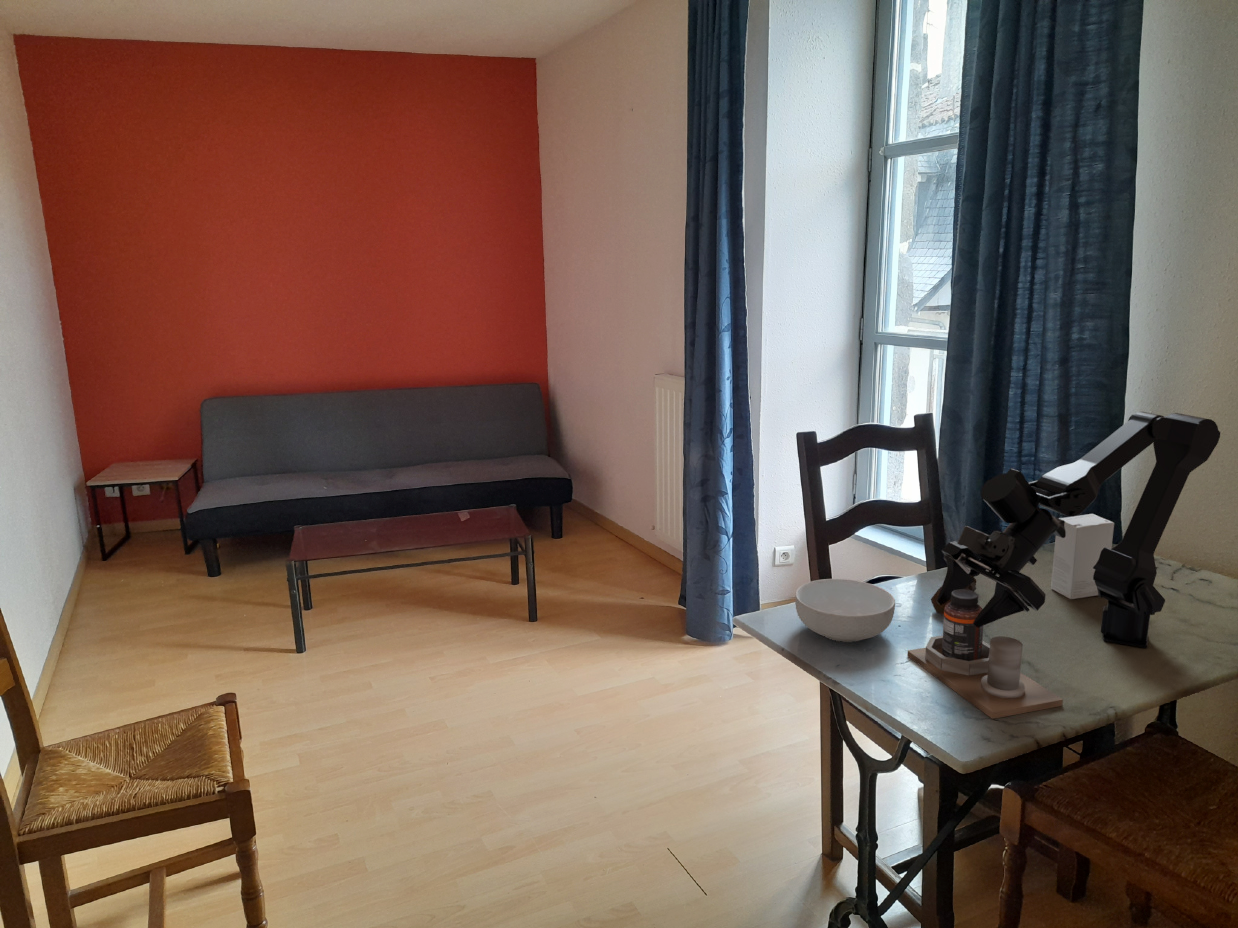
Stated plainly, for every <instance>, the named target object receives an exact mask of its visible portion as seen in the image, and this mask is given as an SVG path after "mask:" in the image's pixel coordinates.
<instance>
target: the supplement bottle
mask: <svg viewBox="0 0 1238 928" xmlns="http://www.w3.org/2000/svg"><path fill="white" fill-rule="evenodd" d="M978 603H979V594H978V593H977V592H976V591H971V590H965V589H958V590H954V591H952V593H951V602H950V603H948V604H947V605H946V606H945V609H944V615H943V623H942V624H943V626H942V635H943V644H942V655H943V656H945V657H949V658H955V659H960V660H965V661H973V660H979V659H981V656H982V640H983V638H984V626H981V627H979V628H978V627H976V626H975V625H974V624H973V622H974V620H975V619H976V617H977V616H978V614H979V613H980V612H981V611H982V609H983V607H982V606H980V605H979V604H978ZM983 641H984V640H983Z"/></svg>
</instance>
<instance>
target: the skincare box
mask: <svg viewBox="0 0 1238 928" xmlns="http://www.w3.org/2000/svg"><path fill="white" fill-rule="evenodd" d="M1059 519H1061V520H1064V521H1065V524H1064V527H1065V531H1066V536H1065V538H1061V537H1059V536H1056V535H1055V539H1054V541H1055V542H1054V550H1053V560H1052V561H1053V562H1052V571H1051V580H1050V582H1051V583H1050V588H1051V590H1053V591H1055V592H1057V593H1059V594H1060V595H1062V596H1064V597H1066V598H1068V599H1069V600H1075V599H1082V598H1088V597H1094V596H1099V595H1098V590H1097V586H1096V584H1095V580H1093V575H1094V572H1095V569H1093V567H1094V566H1095V565H1096V563H1097V561H1098V560H1099V557H1100V553H1101V551H1102V550H1103V548H1105V547H1106V548H1109V549H1112V548H1113V547H1112V546H1113V536H1114V528H1115V522H1113V521H1111V520H1109V519H1106V518H1104V517H1101V516H1099V515H1096V514H1094V513H1089V514H1080V515H1077V516H1074V517H1073V516H1066V517H1059Z"/></svg>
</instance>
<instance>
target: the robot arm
mask: <svg viewBox="0 0 1238 928" xmlns="http://www.w3.org/2000/svg"><path fill="white" fill-rule="evenodd" d="M1220 437H1221V431H1220V430H1219V426H1218V424H1217V423H1216V421H1214V420H1213V419H1211V418H1204V417H1199V416H1195V415H1189V414H1185V413H1180V412H1172V413H1170V414H1168V415H1167V416H1166V415H1165V416H1164V415H1160V414H1157V413H1150V412H1147V411H1139V412H1134V413H1132V414H1131V415H1130V417H1128V420H1127V422H1125V423H1124V424H1122V426H1120V427H1119V428H1118V429H1116V430H1115V431H1113V433H1111V434H1110V435H1109V436H1108V437H1106V438H1105V439H1104V440H1102V441H1101V442H1100V443H1099V444H1098V445H1096V446H1095V447H1094V448H1092V449H1091V450H1089V451H1088V452H1087V453H1086V454H1085V455H1084V456H1082V457H1081V458H1080V459H1078V460H1076V461H1075V462H1072V463H1068V464H1064V465H1061V466H1057V467H1056V468H1054V469H1051V470H1050V471H1048V472H1046V473H1045V474H1043V475H1042V476H1041V477H1039V478H1038V479H1037V480H1034V481H1029V482H1028V481H1027V479H1026V476H1025V475H1024V474H1023V473H1022V472H1021V471H1020V470H1017V469H1014V468H1010V469H1008V471H1007V472H1005V473H1001V474H998V475H996V476H994V477H992V478H991V479H988V480H987V481H985V482H984V484H983V486H982V488H981V490H980V491H981V492H980V497H981V498H982V499H983V501H984V503H986V504H987V505H988V507H990V508H991V510H992V511H993V512H994V513H995V514H996V515H997V516H998V517H999V518H1000V519H1001V521H1002V522H1004V523H1007V524H1008V526H1007V527H1006V528H1005V529H1004V530H1003V531H1001V530H999V529H996V530H994V531H992V533H991V534H990V535H989V534H987V533H985V532H983V531H980V530H978V529H976V528H972V527H970V526H968V525H965V526H964V527H963V530H962V532H961V534H960V536H959V539H958V540H957V541H949V542H948V543H946V544H945V546H944V548H942V550H941V552H942V553H943V559H944V561H945V562H946V573H945V577H944V580H943V583H942V585H941V586H942V588H941V590H940V593H939V595H938V598H937V603H938V604H940V605H943V604H944V603H946V602H948V601H949V600H950V599H951V593H952V591H954V590H958V589H965V588H966V587H968V586H969V585H970V584H972V583H973V582H974V580H973V579H972V578H971V577H974V578H975V577H977V576H980V575H982V576H984V577H985V578H988V579H990V580H992V581H993V582H996V583H995V587H994V594H993V596H992V597H991V598H990V600H989V601H988V602H987V603H986V604H985V606H984V607H982V611H981V612H980V613H979V614H978V616H977V617H976V619H975V620H974V622H973V624H974V625H975V626H976V627H978V628H979V627H981V626H983V627H984V626H985V625H988V624H990V623H992V622H993V623H994V622H996V621H998V620H1000V619H1004V618H1006V617H1010V616H1012V615H1014V614H1015V615H1016V614H1017V613H1022V612H1026V613H1028V612H1030V609H1032V610H1034V611H1035V612H1039V610H1040V609H1041V607H1042V606H1043V605H1044V604H1045V603H1046V595H1047V594H1046V593H1045V592H1044V591H1043V590H1042V589H1041V587H1039V585H1038V584H1037V583H1036V582H1035V581H1034V580H1033V579H1032V578H1031V577H1030V576H1028V575H1026V574H1024V573H1022V572H1021V571H1022V570H1023V569H1024V567H1026V565H1027V564H1029V565H1032V566H1034V565H1035V564H1036V563H1037V562H1038V559H1037V558H1036V557H1035V555H1036V553H1038V552H1039V550H1041V548H1042V547H1043V546H1044V545H1045V544H1046V543H1047V541H1049V539H1050V538H1051V537H1052V535H1054V536H1055V537H1056V536H1059V537H1061V538H1065V536H1066V531H1065V527H1064V524H1065V521H1064V520H1061V519H1059V518H1060V517H1059V518H1058V517H1055V516H1054V515H1053V514H1052V513H1051V512H1050V511H1052V512H1055V513H1058V514H1061V515H1064V516H1066V517H1074V516H1080V515H1082V514H1083V512H1085V511H1086V509H1087V508H1088V507H1089V506H1090V505H1091V504H1092V503H1093V502H1094V501H1095V500H1096V498H1097V497H1098V495H1099V491H1100V488H1101V486H1102V484H1103V483H1105V482H1106V481H1107V480H1108V479H1110V478H1111V477H1112V476H1113V475H1114V474H1116V473H1117V472H1118V471H1119V470H1121V469H1123V468H1124V466H1126V465H1127V464H1128V463H1129V462H1131V461H1132V460H1133V459H1134V458H1136V457H1137V456H1138V455H1140V454H1141V453H1142V452H1144V451H1145V450H1146V449H1147V448H1148V447H1150V446H1151V445H1152V446H1153V451H1154V458H1155V464H1154V465H1153V466H1154V467H1153V468H1152V471H1151V473H1150V476H1149V478H1148V480H1147V482H1146V485H1145V487H1144V489H1143V491H1142V494H1141V496H1140V498H1139V500H1138V502H1137V505H1136V507H1135V510H1134V512H1133V514H1132V516H1131V518H1130V521H1129V523H1128V525H1127V527H1126V530H1125V532H1124V535H1123V537H1122V539H1121V541H1120V542H1119V543H1118V544H1116V545H1115V546H1113V547H1111V549H1109V548H1106V547H1105V548H1103V550H1102V551H1101V553H1100V557H1099V560H1098V561H1097V563H1096V565H1095V566H1094V567H1093V569H1095V572H1094V575H1093V580H1095V584H1096V586H1097V590H1098V595H1097V596H1098V597H1099V598H1103V599H1105V600H1107V605H1103V607H1102V615H1101V624H1100V634H1103V636H1102V640H1103V641H1104V642H1108V643H1114V644H1119V645H1120V644H1121V645H1126V646H1127V645H1128V646H1133V647H1139V648H1142V649H1143V648H1144V649H1147V648H1148V647H1149V640H1148V639H1149V638H1148V635H1149V629H1150V619H1151V616H1154V615H1156V613H1159V612H1161V611H1162V609H1163V607H1164V605H1165V602H1166V599H1165V597H1164V596H1163V595H1162V594H1161V592H1159V591H1158V589H1157V588H1156V587H1155V586H1154V584H1155V580H1156V577H1157V571H1158V570H1157V566H1156V560H1155V552H1156V549H1157V547H1158V545H1159V542H1160V541H1161V537H1162V536H1163V533H1164V532H1165V529H1166V527H1167V524H1168V523H1169V520H1170V518H1171V516H1172V513H1173V511H1174V508H1175V507H1176V504H1177V502H1178V500H1179V498H1180V496H1181V493H1182V491H1183V489H1184V487H1185V484H1186V482H1187V480H1188V478H1189V475H1190V474H1191V473H1192V472H1193V471H1194V470H1196V469H1197V468H1199V467H1201V465H1203V464H1204V463H1205V462H1207V461H1208V460H1209V458H1210V457H1211V455H1212V453H1213V452H1214V451H1215V448H1216V447H1217V445H1218V443H1219V441H1220ZM970 576H971V577H970Z"/></svg>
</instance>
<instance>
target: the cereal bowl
mask: <svg viewBox="0 0 1238 928" xmlns="http://www.w3.org/2000/svg"><path fill="white" fill-rule="evenodd" d="M794 598H795V599H794V600H795V601H794V602H795V609H796V613H797V616H798V618H799V619H800V621H801V622H802V624H803V625H804V626H805V627H807V628H808V629H810V630H811V631H812V632H815V633H816V634H818V635H820V636H823V637H824V636H825V637H824V638H826V639H828V638H829V640H831V639H832V640H831V641H835V640H836V641H835V642H840V641H843V642H842V643H853V642H852V641H855V642H860V641H862V640H867V639H871V638H874V637H876V636H878V635H881V633H883V632H884V631H885V630H886V629H888V627H890V625H891V624H892V621H893V619H894V615H895V609H896V599H895V597H894V596H893V594H892V593H890V592H889V591H888V590H885V589H884V588H882V587H879V586H878V585H875V584H872V583H869V582H865V581H860V580H854V579H847V578H826V579H825V578H824V579H817V580H811V581H809V582H808V581H807V582H806V583H804V584H801V586H799V587H798V588H797V589H796V591H795V596H794Z"/></svg>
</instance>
